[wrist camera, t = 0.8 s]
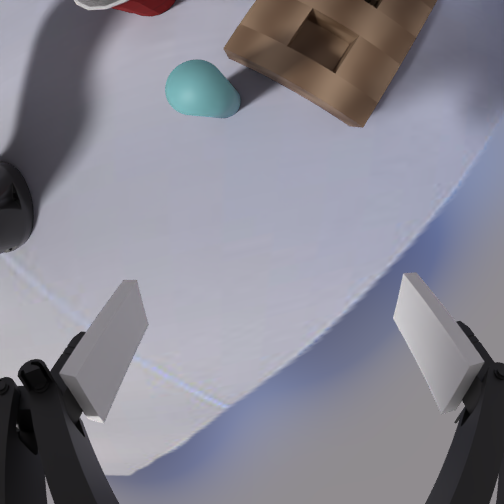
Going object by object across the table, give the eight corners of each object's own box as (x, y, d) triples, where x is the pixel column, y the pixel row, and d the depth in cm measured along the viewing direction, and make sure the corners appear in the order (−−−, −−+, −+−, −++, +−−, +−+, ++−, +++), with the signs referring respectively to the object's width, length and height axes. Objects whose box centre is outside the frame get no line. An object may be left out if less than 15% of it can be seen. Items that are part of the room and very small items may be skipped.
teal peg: (199, 109, 32) (155, 101, 18) (216, 79, 30) (182, 51, 16) (230, 124, 32) (205, 125, 19) (247, 94, 31) (234, 74, 17)
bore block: (229, 58, 29) (213, 32, 19) (316, -59, 21) (330, -103, 11) (349, 126, 32) (384, 129, 22) (422, 5, 23) (465, -19, 13)
